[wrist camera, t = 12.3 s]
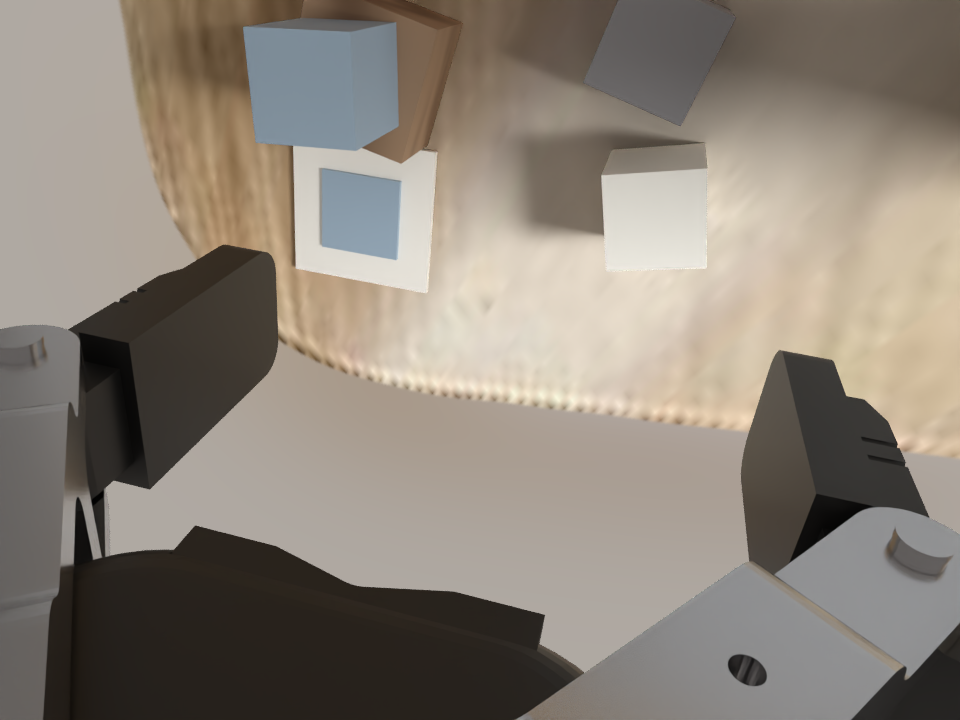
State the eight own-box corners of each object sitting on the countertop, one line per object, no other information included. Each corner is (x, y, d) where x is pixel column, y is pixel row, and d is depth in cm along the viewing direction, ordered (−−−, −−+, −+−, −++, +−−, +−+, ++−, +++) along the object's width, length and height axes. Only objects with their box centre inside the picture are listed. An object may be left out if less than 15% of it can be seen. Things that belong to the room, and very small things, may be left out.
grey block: (729, 9, 38) (736, 17, 33) (681, 105, 41) (680, 126, 36) (638, -31, 38) (630, -30, 33) (596, 67, 41) (582, 82, 36)
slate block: (396, 22, 38) (350, 32, 32) (398, 126, 40) (356, 150, 35) (302, 17, 39) (242, 26, 33) (310, 119, 41) (255, 142, 36)
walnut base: (464, 22, 42) (437, 30, 37) (428, 144, 45) (401, 163, 41) (346, -24, 42) (307, -22, 38) (321, 101, 46) (282, 115, 41)
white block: (705, 142, 41) (707, 168, 36) (704, 231, 44) (706, 268, 38) (611, 149, 43) (601, 175, 38) (615, 235, 45) (606, 271, 40)
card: (437, 151, 45) (434, 153, 44) (427, 290, 49) (424, 295, 49) (295, 128, 46) (290, 130, 46) (298, 266, 51) (293, 270, 50)
